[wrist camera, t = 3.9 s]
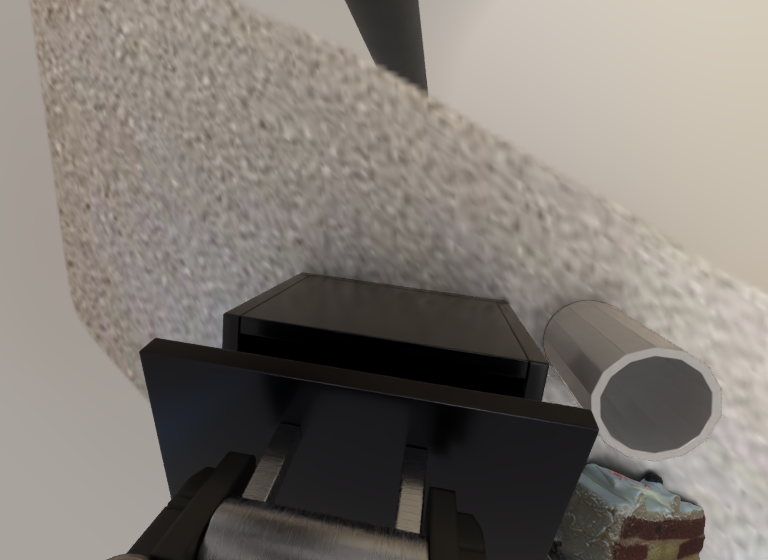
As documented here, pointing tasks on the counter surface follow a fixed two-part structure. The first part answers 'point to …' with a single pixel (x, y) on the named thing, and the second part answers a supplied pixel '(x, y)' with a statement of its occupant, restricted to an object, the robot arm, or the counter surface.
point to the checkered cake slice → (627, 521)
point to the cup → (633, 381)
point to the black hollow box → (391, 334)
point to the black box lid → (359, 456)
